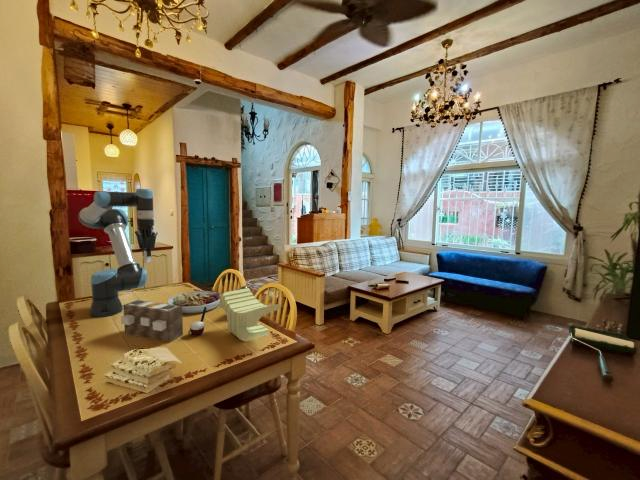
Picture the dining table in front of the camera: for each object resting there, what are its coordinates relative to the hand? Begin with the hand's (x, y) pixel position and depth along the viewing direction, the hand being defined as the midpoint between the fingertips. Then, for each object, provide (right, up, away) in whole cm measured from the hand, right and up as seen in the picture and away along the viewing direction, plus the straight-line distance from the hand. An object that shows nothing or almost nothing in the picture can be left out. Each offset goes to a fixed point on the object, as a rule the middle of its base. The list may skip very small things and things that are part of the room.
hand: (147, 262), depth 160 cm
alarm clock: (+48, -30, +10) cm, 57 cm away
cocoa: (+34, -33, -18) cm, 51 cm away
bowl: (+17, -28, +20) cm, 39 cm away
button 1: (+4, -26, -23) cm, 35 cm away
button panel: (+14, -32, -19) cm, 40 cm away
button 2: (+22, -27, -28) cm, 45 cm away
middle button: (+13, -27, -23) cm, 38 cm away
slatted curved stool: (+58, -34, -16) cm, 69 cm away
